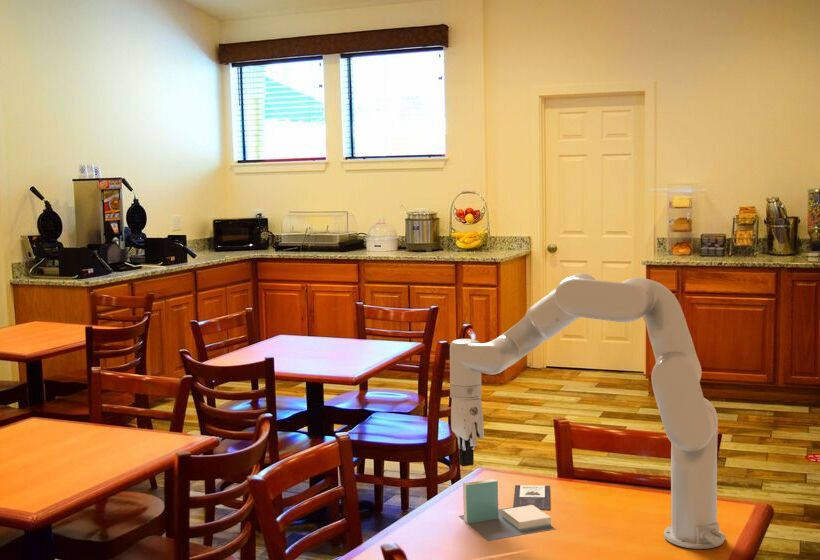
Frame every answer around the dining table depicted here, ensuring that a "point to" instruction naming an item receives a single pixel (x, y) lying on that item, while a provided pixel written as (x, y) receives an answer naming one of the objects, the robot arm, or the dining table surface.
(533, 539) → the dining table surface
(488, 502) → the tile
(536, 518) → the tile
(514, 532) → the mat
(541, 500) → the chocolate bar
